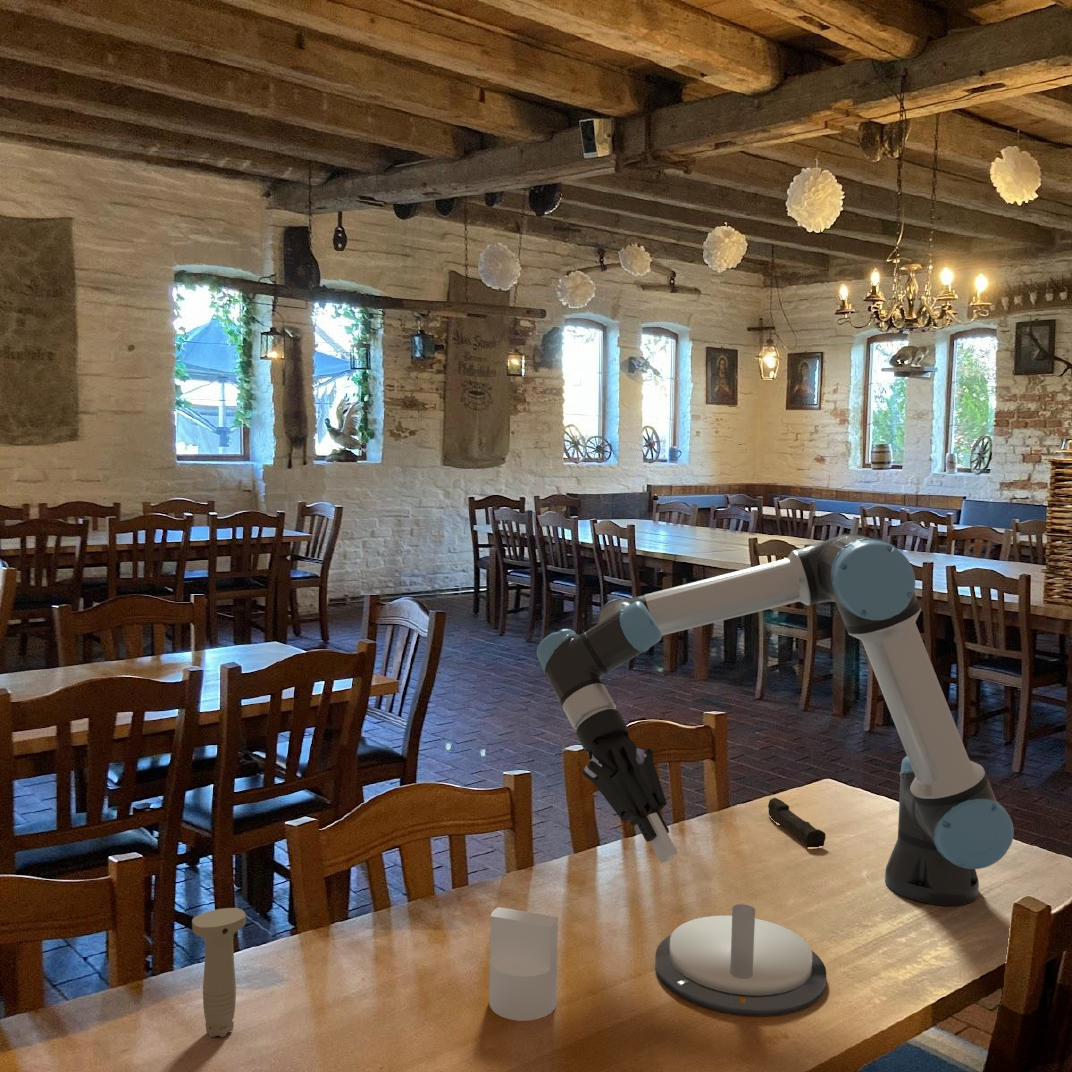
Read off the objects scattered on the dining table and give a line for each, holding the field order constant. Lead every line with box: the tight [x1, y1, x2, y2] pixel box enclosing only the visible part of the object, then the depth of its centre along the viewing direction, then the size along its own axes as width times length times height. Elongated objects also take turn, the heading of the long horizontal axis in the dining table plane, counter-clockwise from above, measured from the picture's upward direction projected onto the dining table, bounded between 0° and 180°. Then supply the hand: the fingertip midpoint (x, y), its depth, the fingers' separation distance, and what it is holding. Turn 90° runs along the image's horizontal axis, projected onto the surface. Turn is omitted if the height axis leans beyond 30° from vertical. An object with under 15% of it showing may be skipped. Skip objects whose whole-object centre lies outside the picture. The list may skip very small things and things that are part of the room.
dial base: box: [654, 933, 827, 1017], centre depth 152 cm, size 24×24×2 cm
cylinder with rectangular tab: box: [489, 906, 559, 1022], centre depth 142 cm, size 9×9×12 cm
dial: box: [670, 903, 813, 996], centre depth 152 cm, size 20×20×11 cm
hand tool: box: [767, 797, 827, 848], centre depth 209 cm, size 19×4×5 cm, turn 12°
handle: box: [191, 907, 247, 1038], centre depth 134 cm, size 5×6×15 cm
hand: (669, 857), depth 153 cm, fingers closed
